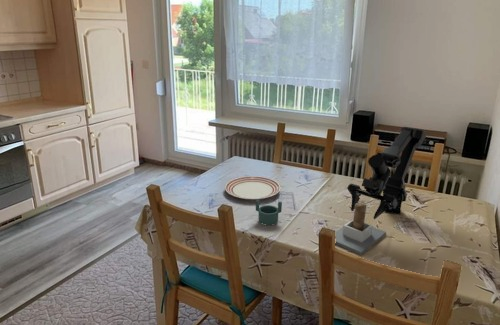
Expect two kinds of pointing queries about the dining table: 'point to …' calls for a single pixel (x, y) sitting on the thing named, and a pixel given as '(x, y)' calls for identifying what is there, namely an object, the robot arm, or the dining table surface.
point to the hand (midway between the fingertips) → (362, 214)
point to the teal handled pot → (268, 213)
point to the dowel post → (359, 216)
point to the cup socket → (358, 237)
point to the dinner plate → (252, 187)
